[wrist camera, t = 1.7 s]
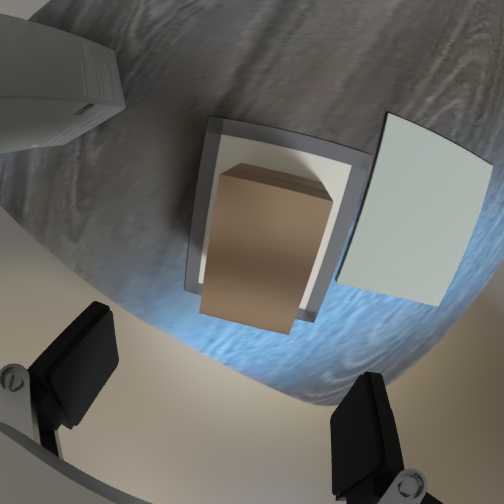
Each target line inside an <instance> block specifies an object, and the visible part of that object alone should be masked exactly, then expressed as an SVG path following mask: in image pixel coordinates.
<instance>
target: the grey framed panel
mask: <svg viewBox="0 0 504 504" xmlns="http://www.w3.org/2000/svg"><path fill="white" fill-rule="evenodd" d="M370 158H371V155H370V154H367V153H364V152H361V151H358V150H355V149H351V148H348V147H345V146H342V145H338V144H335V143H332V142H328V141H325V140H321V139H317V138H314V137H310V136H306V135H302V134H298V133H294V132H290V131H285V130H281V129H277V128H272V127H267V126H262V125H257V124H252V123H247V122H241V121H235V120H229V119H223V118H216V117H208V123H207V128H206V133H205V139H204V144H203V150H202V156H201V162H200V168H199V174H198V181H197V188H196V194H195V201H194V209H193V216H192V224H191V232H190V241H189V249H188V259H187V269H186V279H185V291H188V292H192V293H195V294H199V295H202V287H203V279H204V272H205V265H206V258H207V251H208V244H209V237H210V231H211V224H212V218H213V211H214V205H215V199H216V193H217V188H218V182H219V176H220V174H221V173H223V172H225V171H227V170H229V169H230V168H232V167H234V166H236V165H238V164H239V163H244V164H249V165H254V166H258V167H263V168H267V169H272V170H276V171H280V172H284V173H288V174H292V175H296V176H300V177H304V178H308V179H312V180H315V181H319V182H322V183H323V185H324V186H325V188H326V190H327V191H328V193H329V195H330V197H331V198H332V200H333V205H332V209H331V212H330V215H329V219H328V222H327V225H326V229H325V232H324V235H323V238H322V241H321V244H320V248H319V251H318V254H317V257H316V260H315V263H314V266H313V269H312V272H311V275H310V278H309V281H308V283H307V286H306V289H305V292H304V295H303V298H302V300H301V303H300V306H299V309H298V312H297V314H296V317H295V319H299V320H303V321H308V322H313V323H314V321H315V319H316V317H317V314H318V312H319V309H320V307H321V305H322V302H323V300H324V297H325V295H326V292H327V289H328V287H329V284H330V282H331V279H332V276H333V274H334V271H335V268H336V266H337V263H338V260H339V257H340V255H341V252H342V249H343V246H344V243H345V240H346V237H347V234H348V231H349V228H350V225H351V222H352V219H353V216H354V213H355V210H356V207H357V203H358V200H359V197H360V194H361V190H362V187H363V183H364V180H365V176H366V173H367V169H368V166H369V162H370Z"/></svg>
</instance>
